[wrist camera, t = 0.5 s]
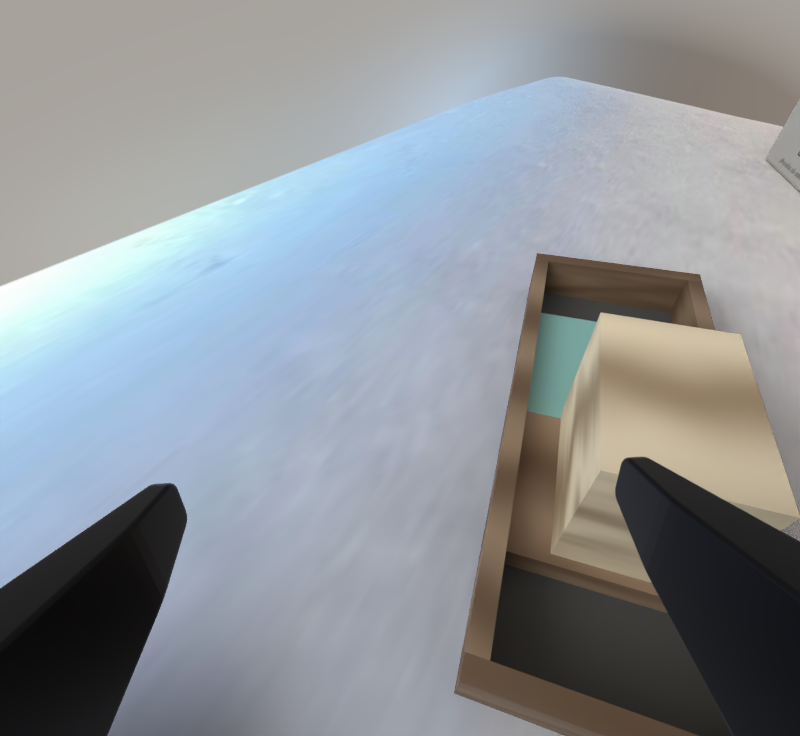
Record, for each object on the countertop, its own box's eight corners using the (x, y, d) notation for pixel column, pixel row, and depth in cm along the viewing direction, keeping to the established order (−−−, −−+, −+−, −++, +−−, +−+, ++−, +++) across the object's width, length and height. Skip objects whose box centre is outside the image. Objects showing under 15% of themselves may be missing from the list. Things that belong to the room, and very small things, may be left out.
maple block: (686, 593, 19) (800, 517, 14) (550, 553, 21) (600, 470, 15) (666, 434, 25) (740, 334, 19) (561, 412, 27) (600, 312, 21)
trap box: (779, 817, 16) (848, 827, 13) (454, 693, 19) (459, 681, 16) (680, 309, 36) (699, 274, 33) (529, 287, 39) (537, 253, 36)
